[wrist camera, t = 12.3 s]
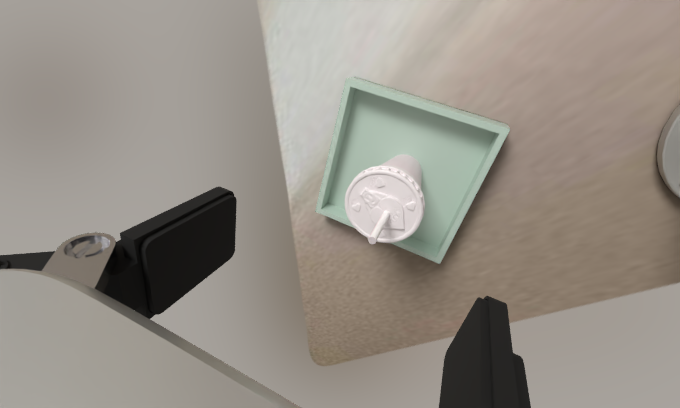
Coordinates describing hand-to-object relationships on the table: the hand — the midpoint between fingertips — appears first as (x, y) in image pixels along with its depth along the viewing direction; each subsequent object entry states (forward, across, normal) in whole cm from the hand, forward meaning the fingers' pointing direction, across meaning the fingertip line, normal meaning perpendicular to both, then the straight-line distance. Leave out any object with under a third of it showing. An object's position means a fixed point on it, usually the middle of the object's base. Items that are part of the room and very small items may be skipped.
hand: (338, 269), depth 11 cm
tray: (+23, +2, +4) cm, 23 cm away
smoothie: (+23, +1, +4) cm, 23 cm away
